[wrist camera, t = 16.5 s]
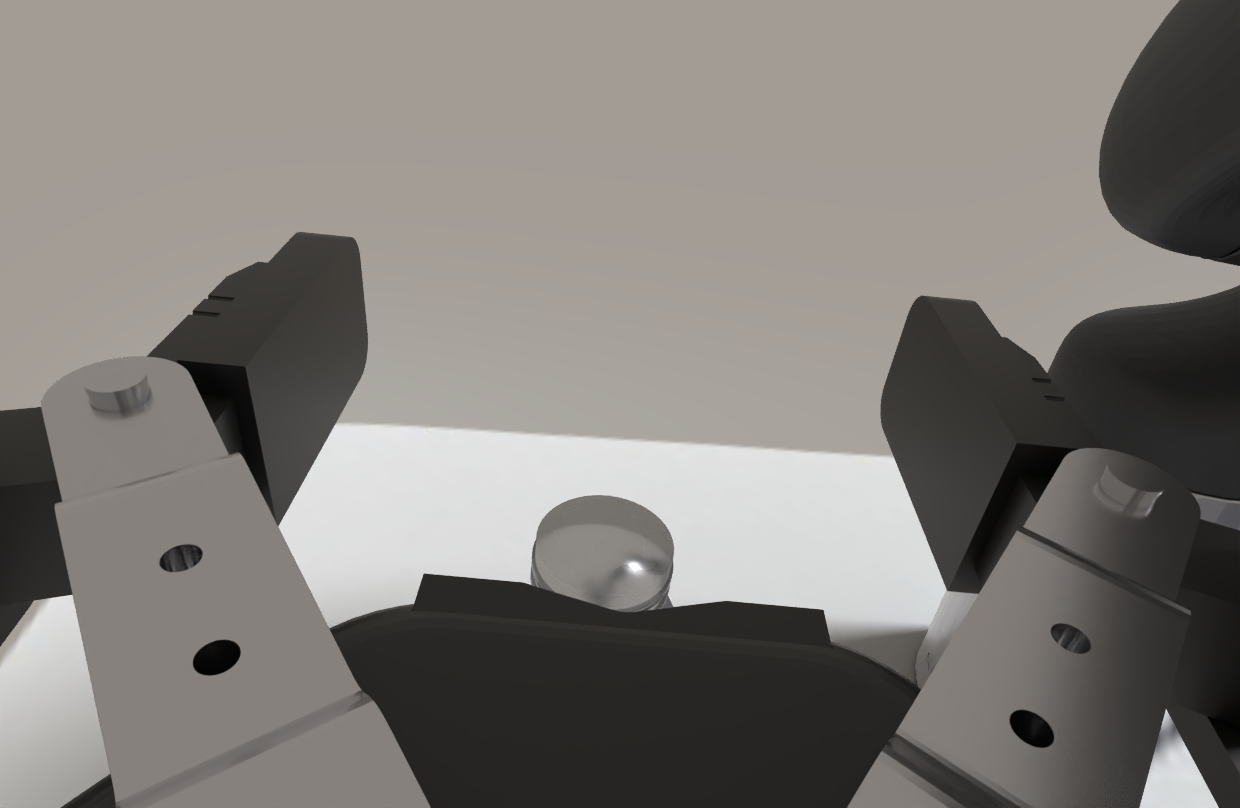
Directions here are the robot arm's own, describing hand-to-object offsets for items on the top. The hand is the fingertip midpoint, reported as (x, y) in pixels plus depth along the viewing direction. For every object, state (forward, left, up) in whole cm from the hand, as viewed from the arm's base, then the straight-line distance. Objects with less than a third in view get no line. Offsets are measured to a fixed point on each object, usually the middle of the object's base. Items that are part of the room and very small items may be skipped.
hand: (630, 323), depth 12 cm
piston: (-4, -10, -27) cm, 29 cm away
